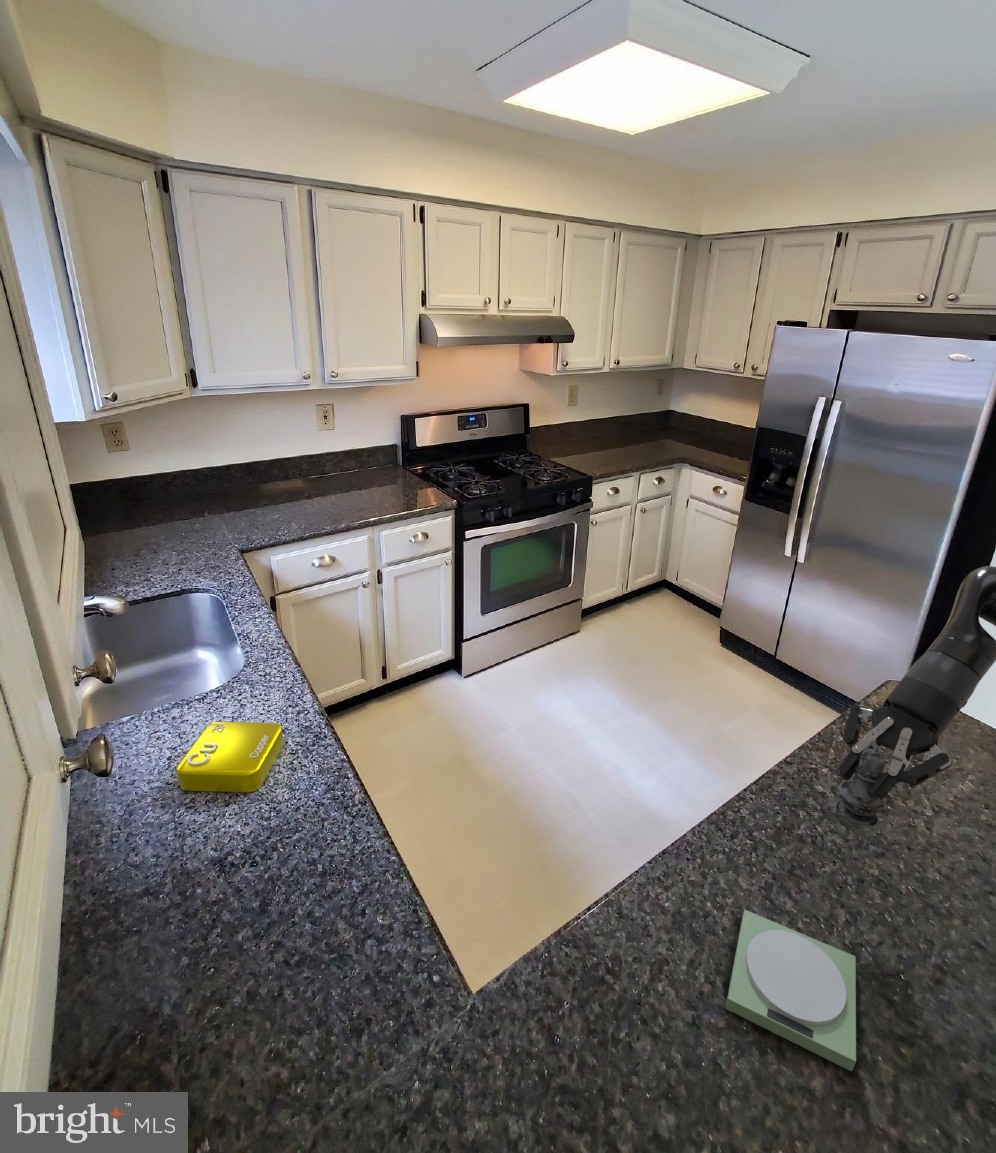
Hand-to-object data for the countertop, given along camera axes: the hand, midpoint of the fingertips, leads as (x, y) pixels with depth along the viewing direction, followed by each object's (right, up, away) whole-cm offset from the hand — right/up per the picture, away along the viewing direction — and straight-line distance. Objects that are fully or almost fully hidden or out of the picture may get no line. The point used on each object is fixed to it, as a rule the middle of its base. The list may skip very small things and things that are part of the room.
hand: (857, 786), depth 83 cm
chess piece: (+2, -5, +3) cm, 6 cm away
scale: (-12, -24, -6) cm, 27 cm away
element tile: (-101, -7, +31) cm, 106 cm away
